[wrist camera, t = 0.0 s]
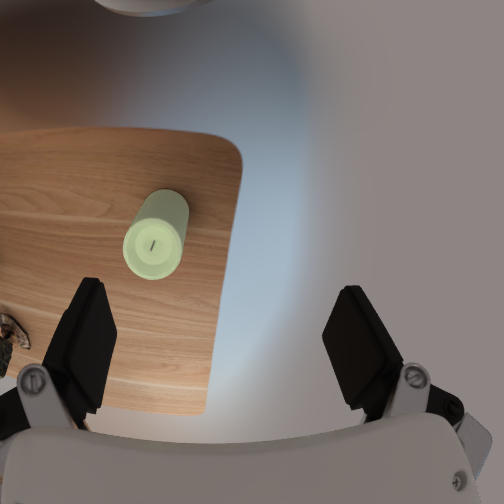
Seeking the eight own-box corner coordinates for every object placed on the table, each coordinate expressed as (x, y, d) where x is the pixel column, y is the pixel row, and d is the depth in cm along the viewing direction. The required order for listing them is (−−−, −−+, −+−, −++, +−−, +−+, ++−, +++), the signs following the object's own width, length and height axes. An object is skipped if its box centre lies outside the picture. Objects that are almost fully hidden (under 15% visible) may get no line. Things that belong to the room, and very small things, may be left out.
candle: (147, 183, 25) (123, 219, 18) (194, 195, 27) (187, 235, 20) (139, 226, 28) (118, 272, 21) (183, 237, 29) (175, 285, 22)
